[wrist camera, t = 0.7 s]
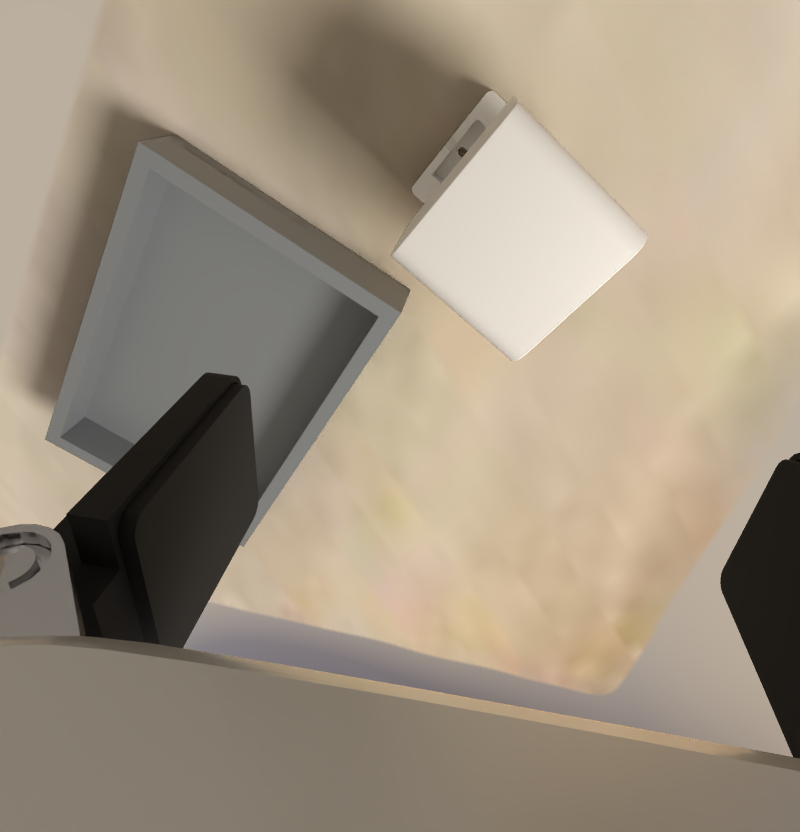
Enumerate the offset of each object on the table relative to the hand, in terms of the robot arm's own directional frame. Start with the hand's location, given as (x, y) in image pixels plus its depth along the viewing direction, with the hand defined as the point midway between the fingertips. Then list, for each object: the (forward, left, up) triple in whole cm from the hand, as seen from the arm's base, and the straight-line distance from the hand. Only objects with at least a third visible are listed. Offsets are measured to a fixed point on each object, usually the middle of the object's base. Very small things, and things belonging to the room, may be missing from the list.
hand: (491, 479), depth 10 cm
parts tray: (+10, -15, -21) cm, 28 cm away
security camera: (-1, 0, -21) cm, 21 cm away
